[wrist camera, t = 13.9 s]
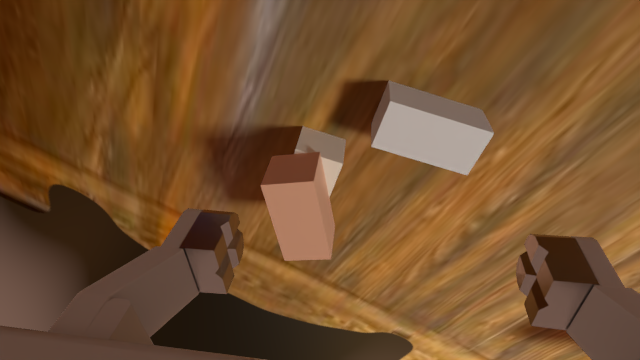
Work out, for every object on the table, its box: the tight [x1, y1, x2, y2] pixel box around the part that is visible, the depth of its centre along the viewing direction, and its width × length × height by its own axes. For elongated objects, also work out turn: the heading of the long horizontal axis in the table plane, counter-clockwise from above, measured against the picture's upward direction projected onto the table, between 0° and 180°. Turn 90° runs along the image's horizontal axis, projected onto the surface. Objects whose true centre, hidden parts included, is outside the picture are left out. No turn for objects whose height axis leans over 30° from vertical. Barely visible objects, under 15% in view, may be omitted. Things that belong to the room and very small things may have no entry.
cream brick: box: [294, 126, 346, 197], centre depth 44 cm, size 5×10×5 cm, turn 163°
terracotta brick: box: [261, 152, 335, 261], centre depth 40 cm, size 5×10×5 cm, turn 10°
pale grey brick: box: [371, 81, 494, 175], centre depth 38 cm, size 5×10×5 cm, turn 75°
